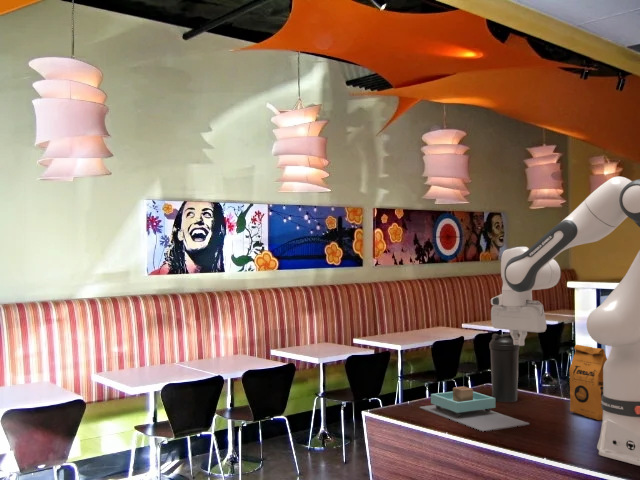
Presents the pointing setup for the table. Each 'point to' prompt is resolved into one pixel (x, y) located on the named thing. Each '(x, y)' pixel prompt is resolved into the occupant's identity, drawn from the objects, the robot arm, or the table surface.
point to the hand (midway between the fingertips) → (519, 345)
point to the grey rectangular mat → (478, 418)
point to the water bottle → (504, 368)
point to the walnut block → (462, 394)
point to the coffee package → (587, 381)
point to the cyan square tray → (476, 404)
